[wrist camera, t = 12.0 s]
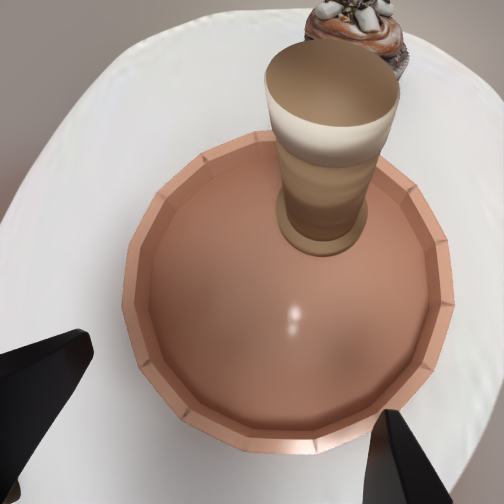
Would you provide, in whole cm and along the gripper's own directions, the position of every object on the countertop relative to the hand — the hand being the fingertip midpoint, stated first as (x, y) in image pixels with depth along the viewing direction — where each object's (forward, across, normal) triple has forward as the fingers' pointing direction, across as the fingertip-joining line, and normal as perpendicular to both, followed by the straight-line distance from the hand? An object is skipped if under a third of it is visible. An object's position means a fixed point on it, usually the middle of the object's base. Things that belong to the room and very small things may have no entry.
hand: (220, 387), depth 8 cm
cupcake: (+27, -3, -12) cm, 30 cm away
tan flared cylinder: (+17, -2, -1) cm, 17 cm away
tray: (+14, 0, +4) cm, 14 cm away
